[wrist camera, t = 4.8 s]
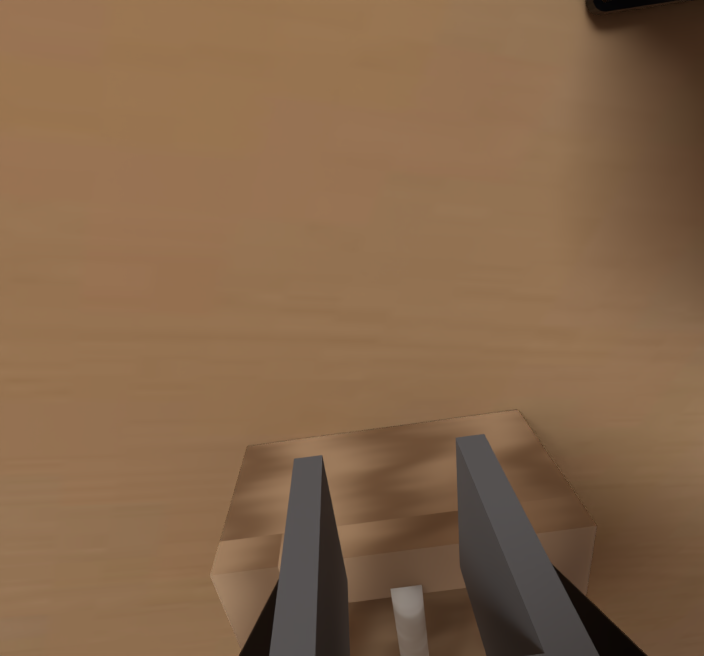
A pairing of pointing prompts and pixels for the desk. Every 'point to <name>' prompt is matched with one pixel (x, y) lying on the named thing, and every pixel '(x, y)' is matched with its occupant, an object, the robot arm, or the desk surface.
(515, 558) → the grey slotted box
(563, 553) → the shelf
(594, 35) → the desk surface
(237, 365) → the desk surface
